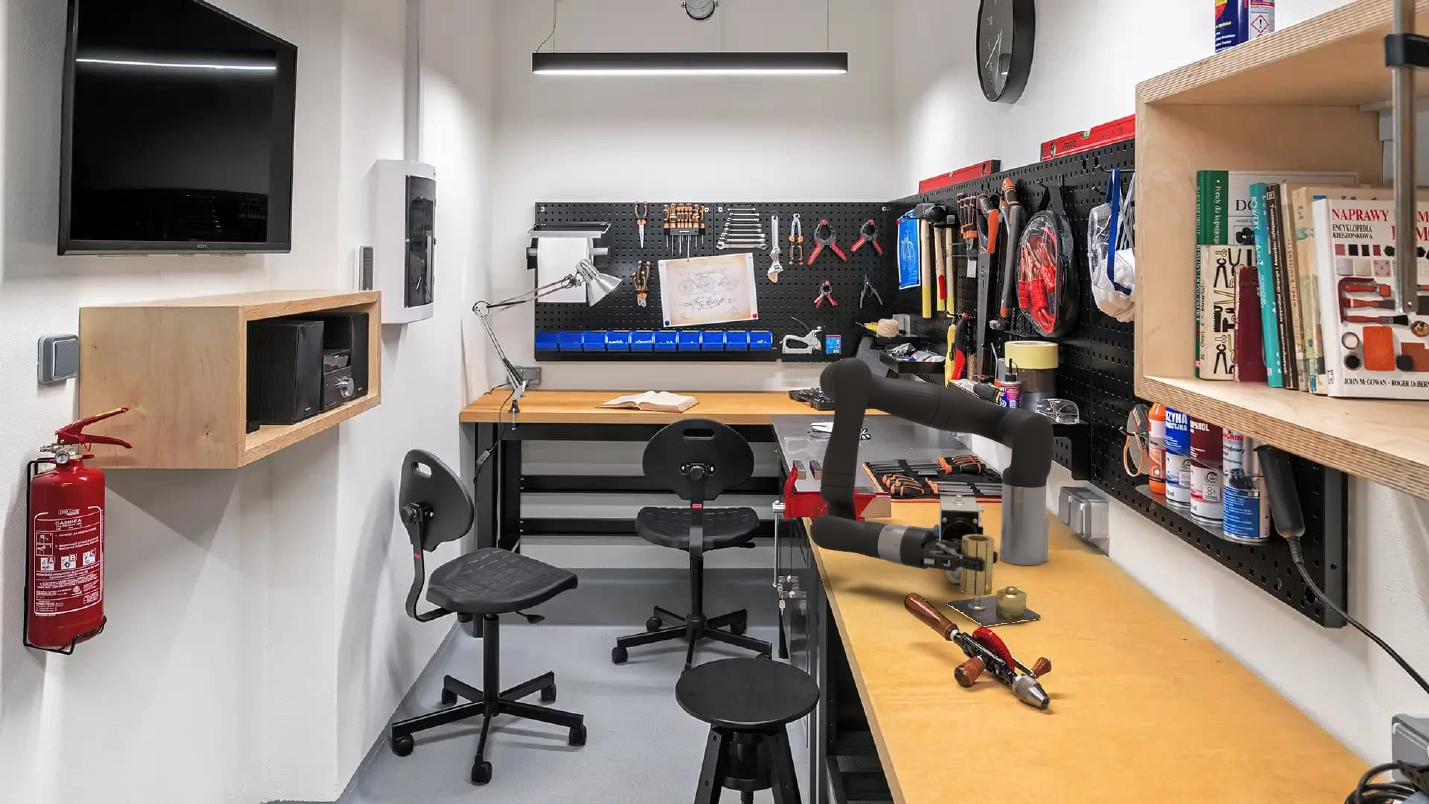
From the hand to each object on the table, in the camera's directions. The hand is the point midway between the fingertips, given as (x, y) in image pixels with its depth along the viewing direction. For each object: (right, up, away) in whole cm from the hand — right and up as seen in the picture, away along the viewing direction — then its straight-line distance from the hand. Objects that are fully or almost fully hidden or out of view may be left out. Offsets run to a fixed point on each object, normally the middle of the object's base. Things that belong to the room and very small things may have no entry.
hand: (990, 561), depth 173 cm
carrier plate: (+1, -10, +2) cm, 10 cm away
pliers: (-2, -5, +43) cm, 43 cm away
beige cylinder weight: (+3, -10, -1) cm, 11 cm away
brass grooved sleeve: (-2, -6, +2) cm, 7 cm away
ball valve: (0, -7, +22) cm, 23 cm away
